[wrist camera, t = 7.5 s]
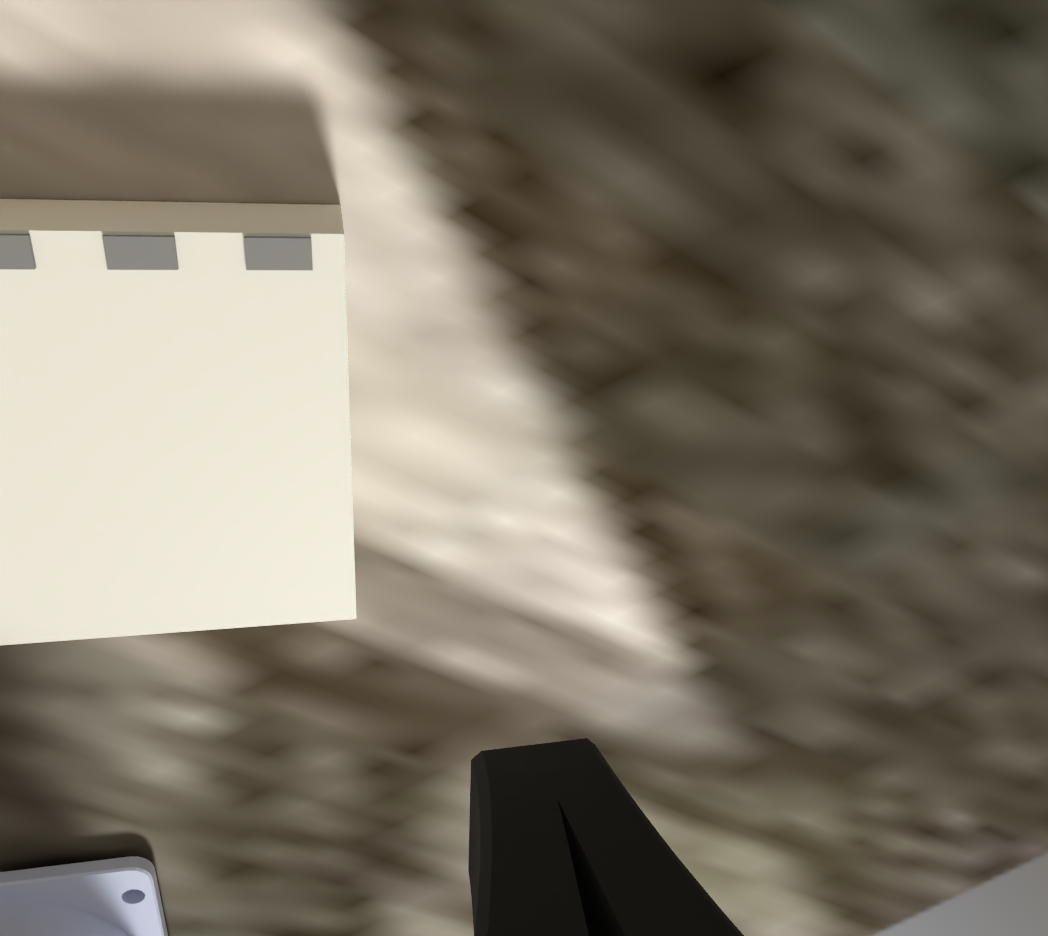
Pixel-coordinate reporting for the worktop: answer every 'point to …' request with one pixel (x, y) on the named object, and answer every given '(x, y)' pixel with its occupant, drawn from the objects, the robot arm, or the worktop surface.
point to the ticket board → (172, 418)
